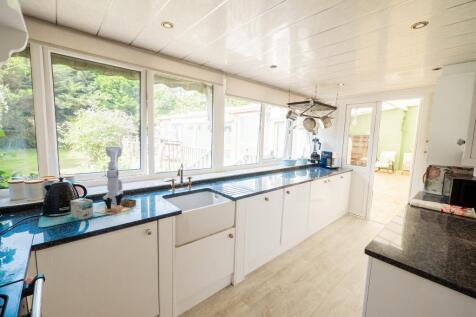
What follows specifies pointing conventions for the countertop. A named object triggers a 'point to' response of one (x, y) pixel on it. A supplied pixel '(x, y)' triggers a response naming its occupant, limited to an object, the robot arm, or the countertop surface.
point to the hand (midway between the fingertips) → (113, 206)
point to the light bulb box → (81, 208)
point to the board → (114, 212)
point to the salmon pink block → (114, 208)
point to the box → (128, 202)
